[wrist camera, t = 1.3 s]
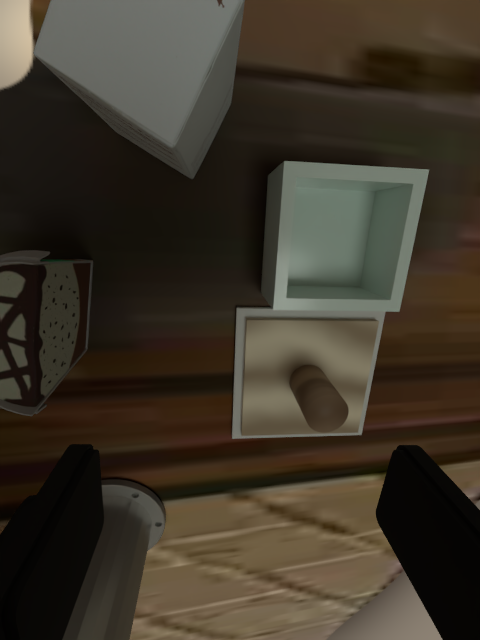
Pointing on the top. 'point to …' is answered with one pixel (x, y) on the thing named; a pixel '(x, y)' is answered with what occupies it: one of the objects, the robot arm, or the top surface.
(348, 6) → the top surface
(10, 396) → the grey half-round piece
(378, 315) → the mat
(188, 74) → the supplement box
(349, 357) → the lid
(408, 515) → the robot arm
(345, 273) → the open square bin
